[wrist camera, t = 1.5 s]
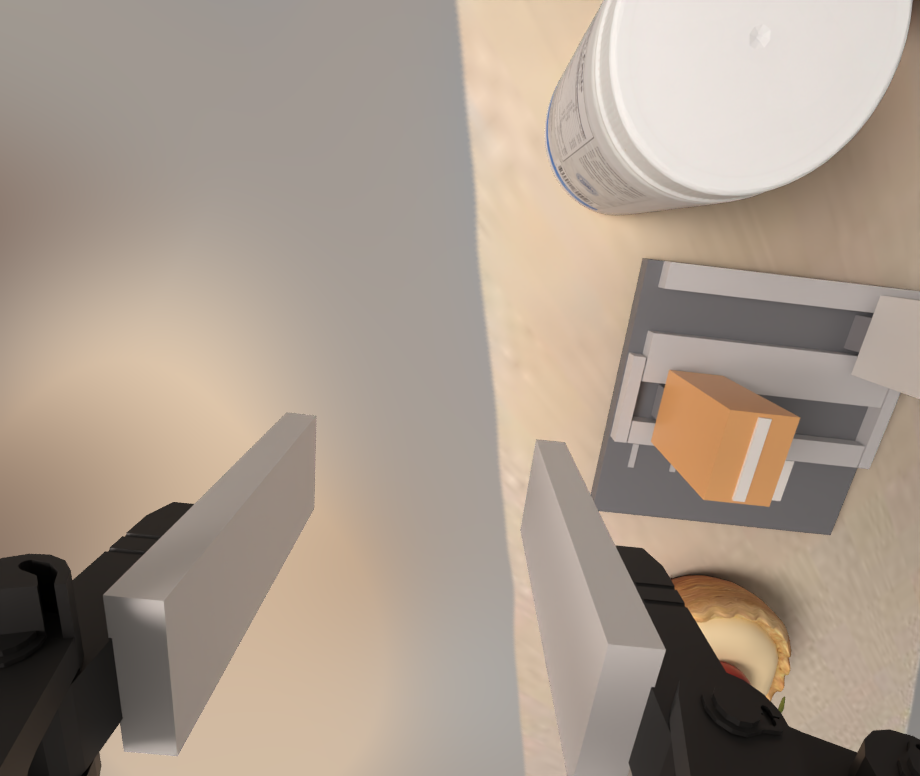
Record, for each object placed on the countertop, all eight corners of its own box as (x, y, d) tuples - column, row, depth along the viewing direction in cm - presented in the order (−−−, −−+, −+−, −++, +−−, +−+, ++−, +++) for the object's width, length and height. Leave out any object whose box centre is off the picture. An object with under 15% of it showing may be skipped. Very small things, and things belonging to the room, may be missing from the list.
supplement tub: (715, 43, 27) (977, -159, 13) (686, 219, 30) (877, 205, 16) (545, 37, 27) (630, -172, 13) (532, 214, 30) (591, 195, 16)
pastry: (596, 583, 39) (633, 681, 30) (744, 541, 37) (826, 631, 29) (631, 691, 42) (673, 806, 34) (768, 656, 41) (848, 766, 32)
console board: (642, 258, 31) (723, 268, 21) (913, 290, 31) (1113, 314, 22) (588, 503, 36) (634, 599, 27) (820, 527, 37) (947, 631, 27)
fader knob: (659, 363, 32) (732, 410, 23) (711, 369, 32) (802, 418, 23) (642, 433, 33) (704, 501, 25) (692, 438, 34) (771, 508, 25)
